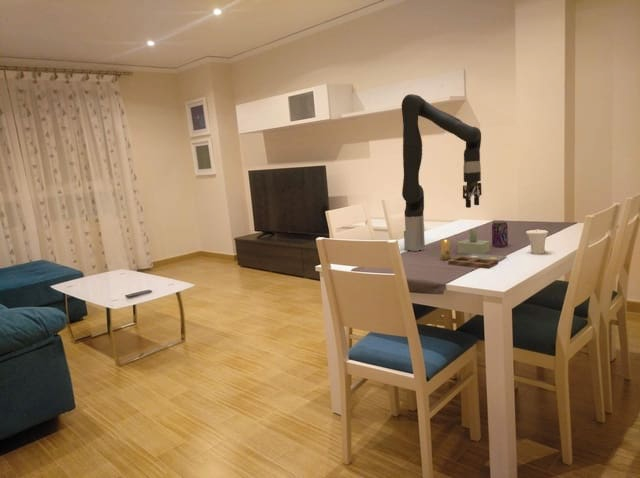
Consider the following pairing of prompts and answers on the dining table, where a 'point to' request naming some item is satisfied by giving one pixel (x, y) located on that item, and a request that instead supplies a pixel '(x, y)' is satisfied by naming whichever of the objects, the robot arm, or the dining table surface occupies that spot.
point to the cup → (537, 240)
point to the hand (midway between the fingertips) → (472, 206)
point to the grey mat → (487, 256)
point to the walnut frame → (473, 262)
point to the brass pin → (445, 249)
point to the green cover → (473, 244)
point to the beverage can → (499, 234)
